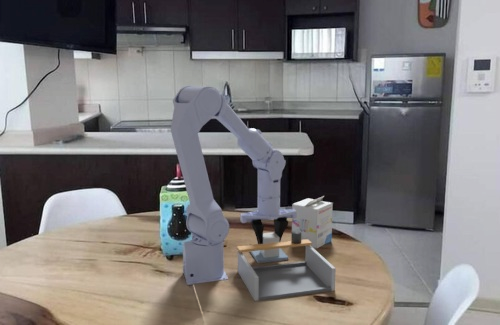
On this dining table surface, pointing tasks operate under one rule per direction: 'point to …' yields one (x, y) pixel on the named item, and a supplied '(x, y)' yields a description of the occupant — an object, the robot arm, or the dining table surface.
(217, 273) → the robot arm
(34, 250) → the dining table surface
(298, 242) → the bar
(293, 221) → the ink box
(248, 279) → the case
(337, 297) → the dining table surface
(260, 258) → the pad
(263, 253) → the block
